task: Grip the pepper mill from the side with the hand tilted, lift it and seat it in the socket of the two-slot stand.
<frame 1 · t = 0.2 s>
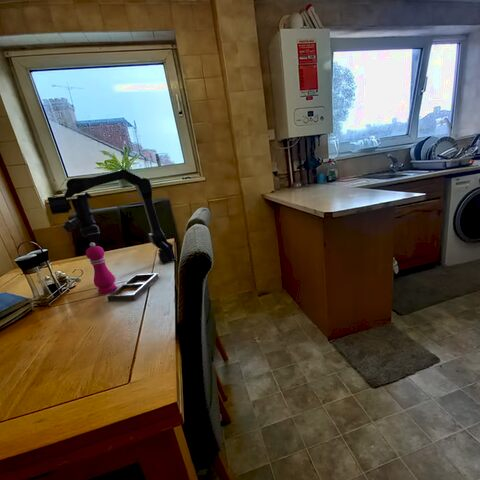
hand: (94, 247, 118), 15 cm above the table, tool pointing down, fingers open, 9 cm apart
pepper mill: (108, 291, 109), on the table
stand: (135, 289, 108), on the table
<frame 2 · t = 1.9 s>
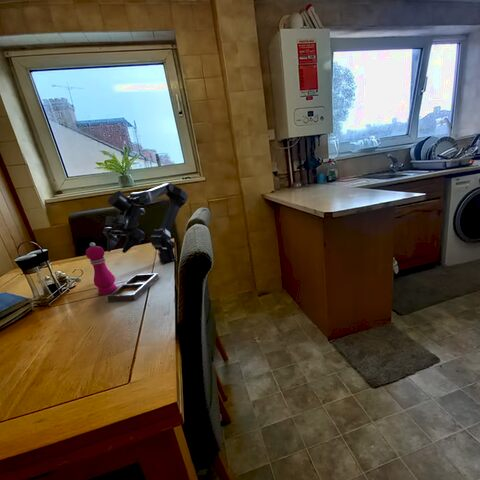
hand: (115, 252, 111), 13 cm above the table, tool tilted 45°, fingers open, 9 cm apart
nothing on the table moved.
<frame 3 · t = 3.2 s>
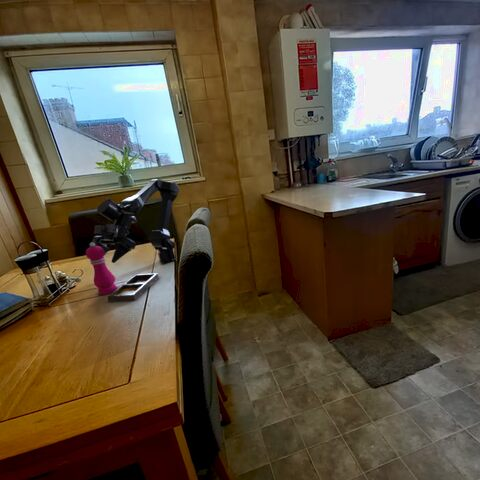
hand: (104, 261, 107), 11 cm above the table, tool tilted 45°, fingers open, 9 cm apart
nothing on the table moved.
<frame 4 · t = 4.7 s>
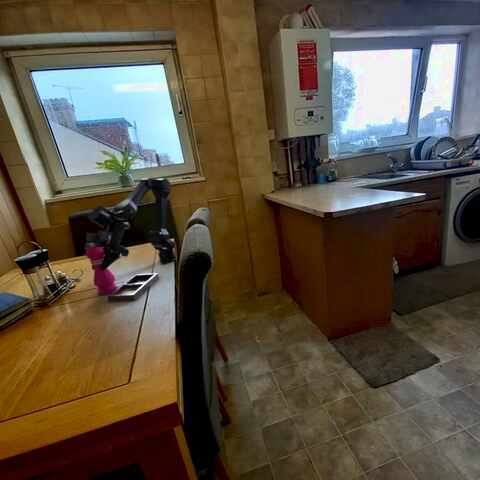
hand: (97, 269, 105), 10 cm above the table, tool tilted 45°, fingers closed on pepper mill, 5 cm apart
pepper mill: (108, 291, 109), on the table, touching gripper
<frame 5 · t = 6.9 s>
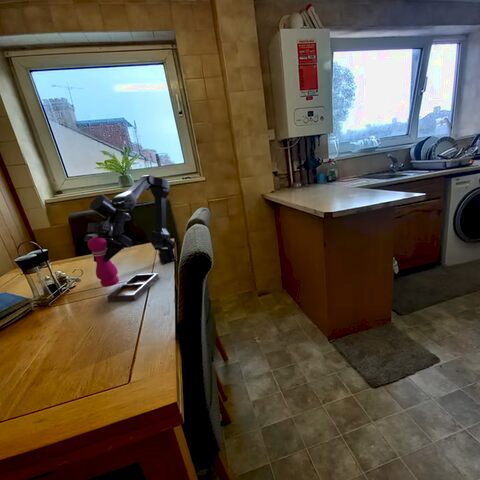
hand: (99, 261, 101), 13 cm above the table, tool tilted 45°, fingers closed on pepper mill, 5 cm apart
pepper mill: (110, 283, 106), point 4 cm above the table, touching gripper
when the fingers open (10 cm above the table, at t = 9.5 s): pepper mill stays where it is, resting on stand.
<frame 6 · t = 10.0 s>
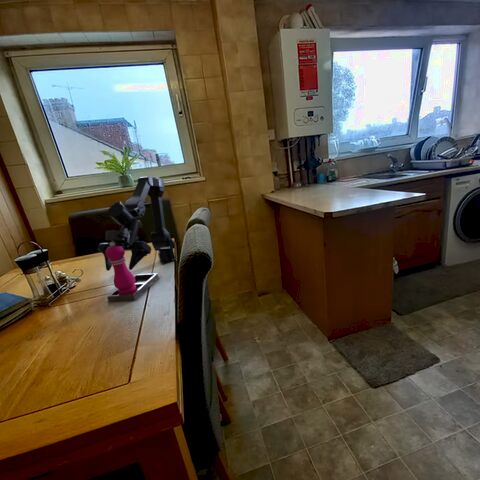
hand: (118, 269, 99), 11 cm above the table, tool tilted 45°, fingers open, 9 cm apart
pepper mill: (128, 292, 104), resting on stand, touching gripper
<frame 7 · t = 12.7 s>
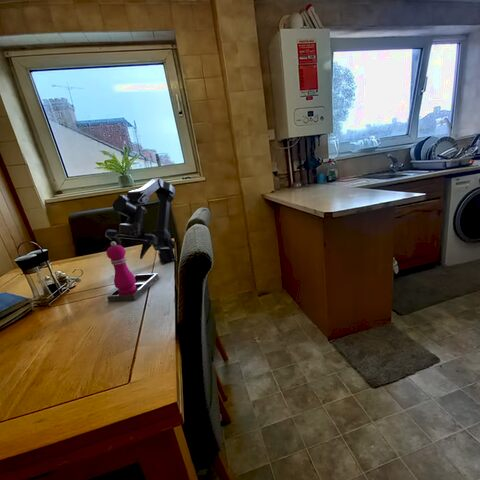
hand: (129, 257, 111), 11 cm above the table, tool tilted 30°, fingers open, 9 cm apart
pepper mill: (128, 292, 104), resting on stand
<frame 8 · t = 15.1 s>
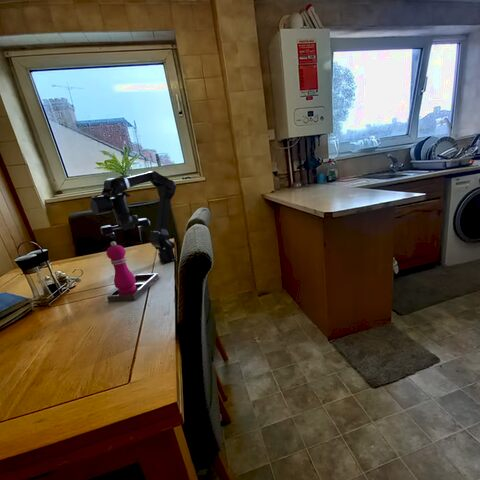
hand: (131, 245, 120), 13 cm above the table, tool pointing down, fingers open, 9 cm apart
nothing on the table moved.
at the end: pepper mill 0.8 cm from the target spot in the stand, point 0.4 cm above the stand's base; pepper mill tilted 0°; the gripper is holding nothing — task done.
